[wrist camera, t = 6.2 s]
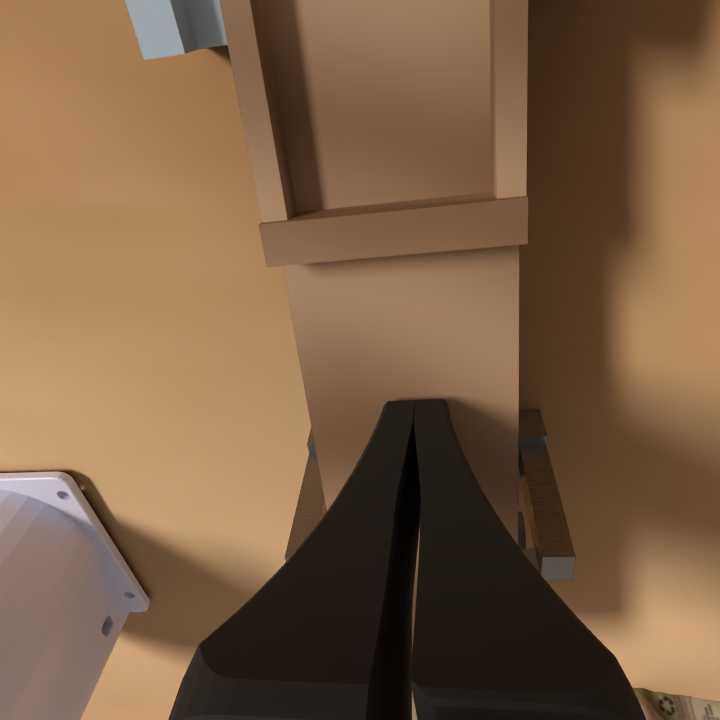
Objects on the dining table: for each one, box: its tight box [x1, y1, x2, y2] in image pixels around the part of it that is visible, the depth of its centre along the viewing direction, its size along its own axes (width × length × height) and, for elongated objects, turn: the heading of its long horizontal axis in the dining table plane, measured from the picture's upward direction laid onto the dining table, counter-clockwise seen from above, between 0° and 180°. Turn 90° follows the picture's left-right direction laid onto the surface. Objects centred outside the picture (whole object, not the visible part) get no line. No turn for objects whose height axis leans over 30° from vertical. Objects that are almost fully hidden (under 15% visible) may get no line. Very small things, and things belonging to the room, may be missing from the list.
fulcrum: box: [285, 410, 576, 580], centre depth 17 cm, size 2×8×5 cm, turn 98°
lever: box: [219, 0, 539, 720], centre depth 14 cm, size 22×7×4 cm, turn 8°
